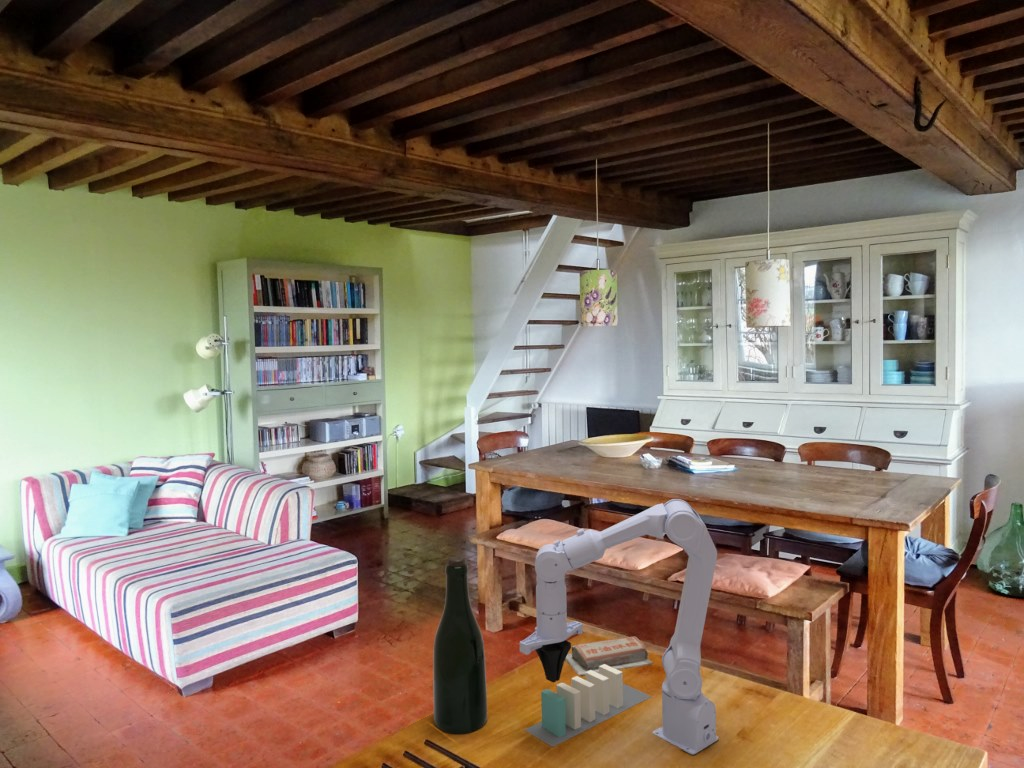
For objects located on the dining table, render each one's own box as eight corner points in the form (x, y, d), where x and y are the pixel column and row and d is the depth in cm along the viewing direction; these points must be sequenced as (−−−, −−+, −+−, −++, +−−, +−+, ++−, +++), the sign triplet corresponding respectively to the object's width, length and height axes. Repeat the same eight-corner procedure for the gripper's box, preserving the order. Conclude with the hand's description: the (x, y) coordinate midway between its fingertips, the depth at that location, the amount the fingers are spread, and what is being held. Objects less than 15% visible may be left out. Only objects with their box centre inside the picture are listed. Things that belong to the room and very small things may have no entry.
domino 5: (604, 696, 154) (604, 663, 154) (622, 705, 150) (622, 672, 150) (599, 699, 153) (598, 666, 153) (617, 708, 149) (617, 674, 149)
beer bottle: (498, 722, 146) (494, 557, 143) (455, 743, 139) (450, 570, 136) (465, 703, 154) (461, 546, 151) (423, 721, 147) (418, 557, 144)
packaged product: (633, 630, 178) (652, 647, 169) (633, 649, 178) (652, 667, 169) (562, 640, 173) (578, 658, 163) (563, 661, 173) (579, 680, 164)
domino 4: (591, 703, 152) (590, 669, 151) (609, 712, 148) (609, 678, 147) (585, 705, 151) (585, 672, 150) (603, 715, 147) (603, 680, 146)
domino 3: (577, 709, 149) (576, 675, 149) (595, 719, 145) (594, 684, 145) (571, 712, 148) (571, 678, 148) (589, 722, 144) (589, 687, 144)
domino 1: (548, 723, 144) (547, 688, 144) (565, 734, 140) (564, 698, 140) (541, 726, 143) (541, 691, 143) (559, 737, 139) (558, 701, 139)
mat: (651, 698, 154) (651, 696, 154) (552, 749, 136) (552, 746, 136) (622, 684, 160) (622, 683, 160) (524, 731, 142) (524, 729, 142)
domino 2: (562, 716, 147) (562, 682, 146) (581, 726, 143) (580, 691, 142) (557, 719, 146) (556, 684, 145) (575, 729, 142) (574, 694, 141)
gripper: (564, 594, 148) (565, 661, 149) (508, 613, 138) (510, 684, 139) (590, 604, 142) (591, 673, 143) (533, 624, 133) (534, 698, 134)
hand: (552, 679), depth 141 cm, fingers closed
